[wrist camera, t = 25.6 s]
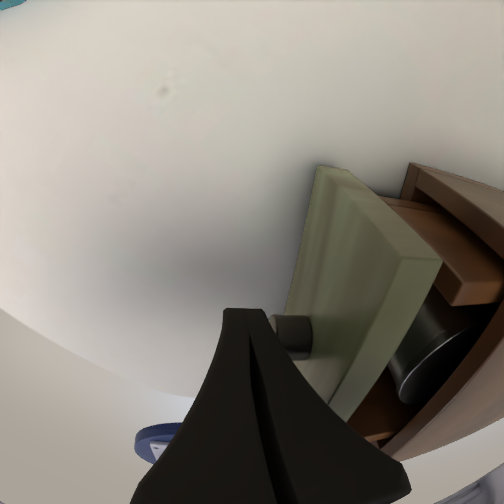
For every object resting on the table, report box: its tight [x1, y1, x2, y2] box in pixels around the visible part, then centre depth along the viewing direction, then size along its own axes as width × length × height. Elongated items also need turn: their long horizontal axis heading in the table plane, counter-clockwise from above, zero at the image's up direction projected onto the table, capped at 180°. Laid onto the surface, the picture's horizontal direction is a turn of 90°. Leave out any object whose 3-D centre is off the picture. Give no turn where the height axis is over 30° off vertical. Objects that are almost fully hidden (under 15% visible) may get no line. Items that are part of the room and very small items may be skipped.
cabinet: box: [370, 163, 504, 462], centre depth 12 cm, size 15×12×8 cm
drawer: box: [269, 166, 504, 442], centre depth 11 cm, size 15×10×6 cm
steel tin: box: [387, 284, 491, 404], centre depth 11 cm, size 5×5×4 cm
